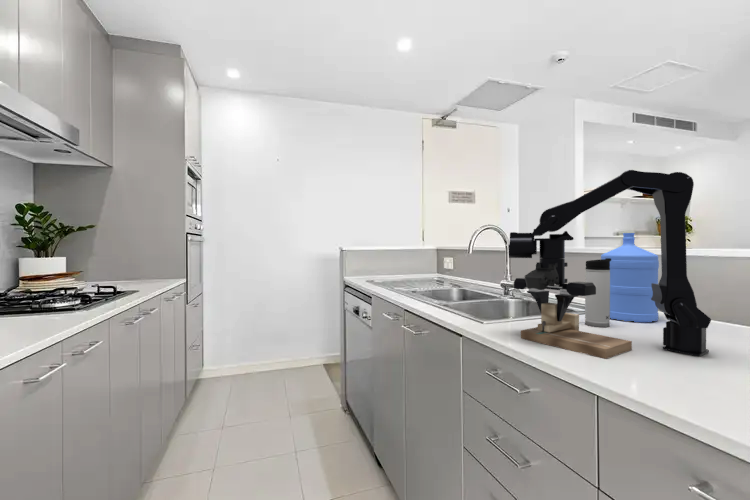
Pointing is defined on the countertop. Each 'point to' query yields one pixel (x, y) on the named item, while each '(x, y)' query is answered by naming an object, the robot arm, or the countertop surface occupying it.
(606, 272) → the travel mug
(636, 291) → the water jug
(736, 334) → the countertop surface
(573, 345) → the walnut board
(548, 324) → the beech gauge
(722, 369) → the countertop surface
